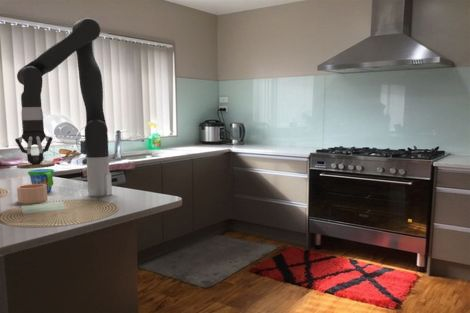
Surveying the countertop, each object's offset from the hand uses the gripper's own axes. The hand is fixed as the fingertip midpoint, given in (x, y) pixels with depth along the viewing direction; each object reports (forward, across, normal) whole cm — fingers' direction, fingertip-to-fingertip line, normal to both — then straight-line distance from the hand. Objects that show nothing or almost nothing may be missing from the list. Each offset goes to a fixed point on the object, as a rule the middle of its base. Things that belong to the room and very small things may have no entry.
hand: (35, 162), depth 164 cm
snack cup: (+17, -4, -29) cm, 34 cm away
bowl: (+17, +2, -8) cm, 19 cm away
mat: (+17, -1, +8) cm, 19 cm away
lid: (+1, 0, 0) cm, 1 cm away
